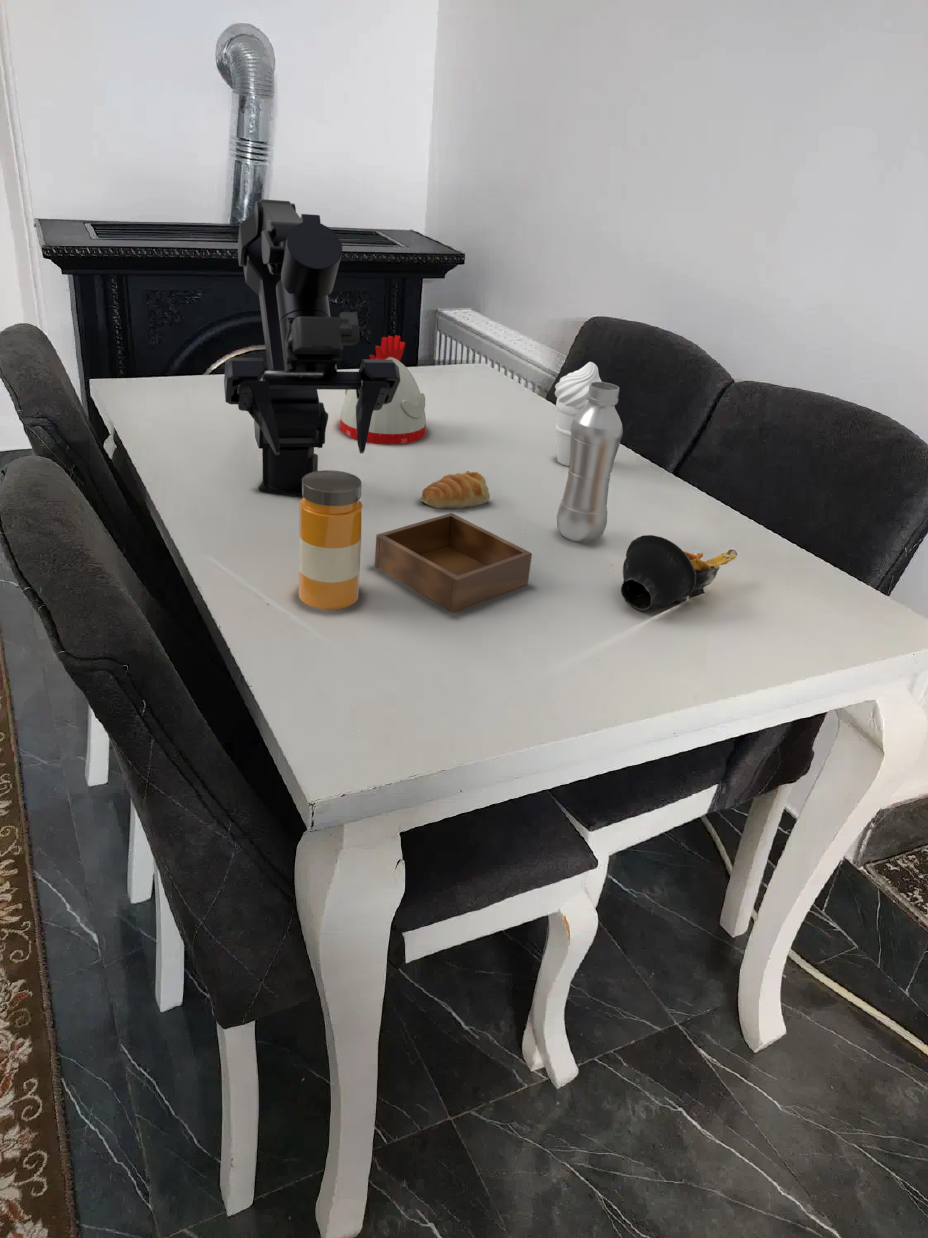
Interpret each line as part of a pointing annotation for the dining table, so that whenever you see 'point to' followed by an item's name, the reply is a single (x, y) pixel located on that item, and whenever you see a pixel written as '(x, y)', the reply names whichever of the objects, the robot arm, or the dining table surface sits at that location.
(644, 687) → the dining table surface
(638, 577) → the fried shrimp in bowl
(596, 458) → the silver metal bottle
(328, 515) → the jar
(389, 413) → the kitchen timer
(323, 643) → the dining table surface
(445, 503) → the pastry
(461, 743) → the dining table surface
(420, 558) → the wooden box
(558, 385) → the ice cream cone
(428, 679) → the dining table surface
